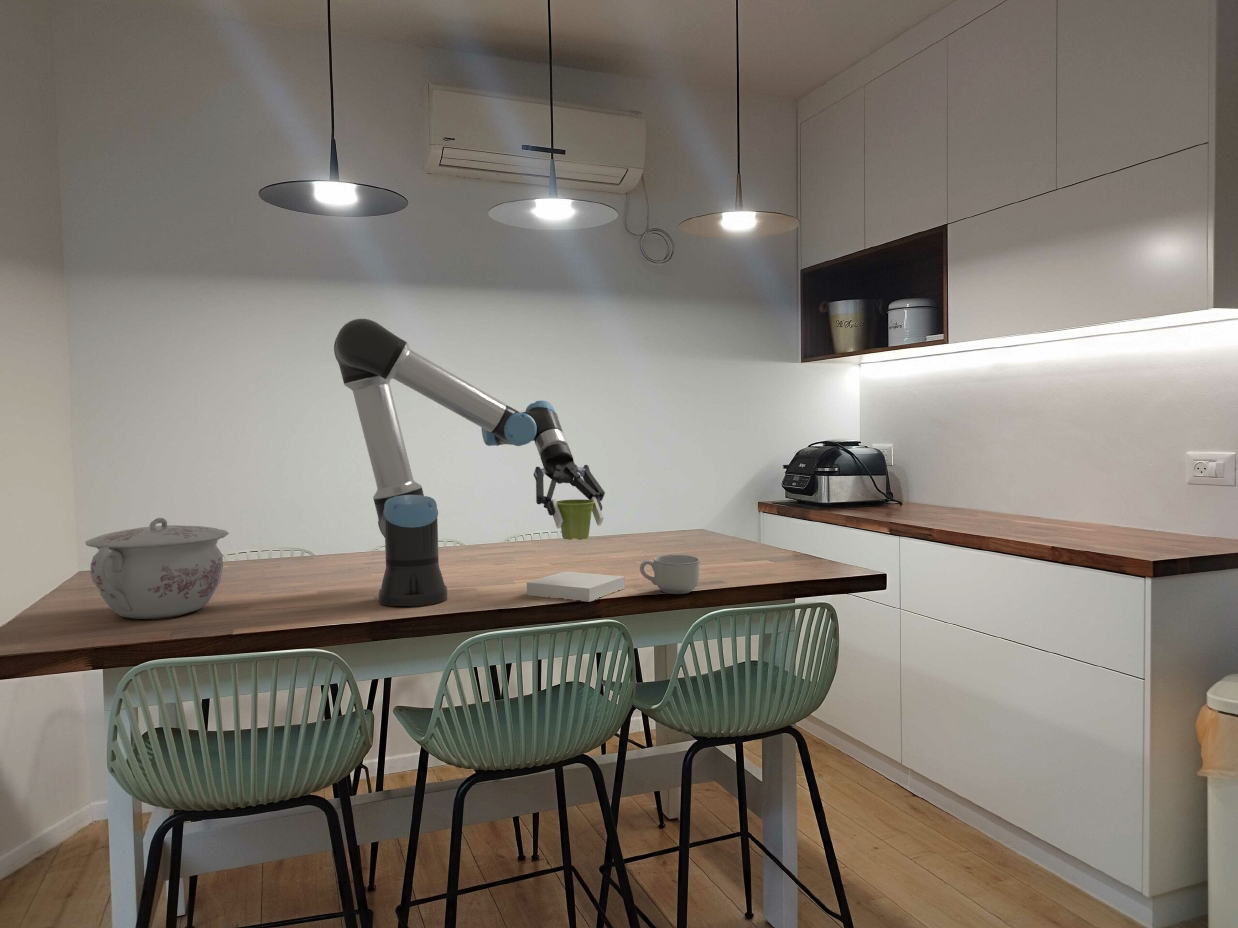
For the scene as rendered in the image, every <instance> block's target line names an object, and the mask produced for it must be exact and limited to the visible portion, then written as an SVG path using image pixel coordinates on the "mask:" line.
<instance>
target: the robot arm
mask: <svg viewBox="0 0 1238 928" xmlns="http://www.w3.org/2000/svg"><path fill="white" fill-rule="evenodd" d="M333 352H334V357H335V360H336V361H337V363H338V366H339V370H340V374H341V378H342V382H343V386H345V387H347V389H348V388H349V389H350V390H351V391H352V393H353V394H352V395H353V397H354V401H355V405H356V410H357V413H358V417H359V420H360V421H359V422H360V425H361V426H360V427H361V429H362V434H363V437H364V440H365V445H366V448H367V453H368V456H369V461H370V464H371V468H372V471H373V476H374V479H375V484H376V488H377V490H376V492H375V493H374V495H373V496H372V499H373V502H374V503H373V504H374V506H375V510H376V515H377V520H378V521H377V525H378V528H379V531H380V533H381V534H382V536H383V537H384V542H385V543H384V546H385V549H384V551H385V570H384V574H383V576H382V577H383V578H382V582H381V587H380V589H379V591H378V603H379V604H380V605H382V606H386V605H387V607H394V606H412V607H421V606H422V607H423V606H430V605H435V604H438V603H442V602H444V601H446V600H447V599H448V588H447V585H446V584H445V580H444V577H443V574H442V572H441V567H440V565H439V532H438V531H439V530H438V529H439V528H438V525H439V524H438V516H439V510H438V504H437V501H436V500H435V499H434V498H433V497H431V496H427V495H424V490H423V486H422V485H421V484H420V483H418V482H416V481H415V480H414V476H413V472H412V469H411V465H410V461H409V458H408V457H409V456H408V453H407V449H406V445H405V441H404V436H403V434H402V433H403V432H402V430H401V425H400V420H399V417H398V414H397V409H396V405H395V401H394V397H393V392H392V389H391V384H390V383H391V380H392V379H393V380H395V381H396V382H399V383H400V384H402V385H403V386H406V387H407V388H410V389H411V390H413V391H415V392H417V393H418V394H420V395H422V396H424V397H426V398H428V399H429V400H431V401H433V402H435V403H437V404H438V405H441V406H442V407H444V408H445V409H448V410H449V411H451V412H453V413H455V414H457V415H459V416H461V418H464V419H466V420H467V421H469V422H471V423H473V424H475V425H476V426H478V427H480V428H481V436H482V439H483V442H484V444H485V445H486V446H488V447H491V446H493V447H495V446H496V447H498V446H503V445H511V446H516V447H521V446H525V445H528V444H530V443H531V442H532V441H534V444H535V446H536V449H537V452H538V455H539V457H540V460H541V463H542V466H543V468H541V467H540V466H535V469H534V472H533V477H534V479H535V495H536V496H535V500H536V502H535V503H536V504H537V505H543V508H545V509H546V511H547V513H548V515H549V516H550V517H551V516H552V518H553V520H554V524H555V526H556V529H561V525H562V522H563V519H562V516H561V514H560V511H559V508H558V505H557V502H556V501H557V499H556V498H553V495H554V493H555V492H554V491H555V489H556V485H557V484H559V485H560V484H570V485H571V486H572V487H575V488H576V489H577V490H578V491H579V492H580V493H581V494H582V495H583V496H585V497H586V499H587V500H593V501H595V503H594V504H593V509H592V512H591V513H592V515H593V517H594V520H595V523H596V525H597V527H598V526H599V527H600V526H601V525H602V523H603V520H604V515H603V513H602V510H603V505H602V501H603V499H604V497H605V494H606V492H605V490H604V489H603V488H602V486H601V485H600V483H599V482H598V481H597V479H596V478H595V477H594V475H593V474H592V472H591V471H590V467H589V465H588V464H584V465H583V466H578V465H577V464H576V462H575V461H574V456H573V454H572V451H571V449H570V445H569V444H568V443H569V442H568V441H567V438H566V436H565V434H564V432H563V431H564V430H563V428H562V426H561V423H560V420H559V416H558V414H557V412H556V410H555V408H554V406H553V404H551V403H550V402H548V401H546V400H536V401H535V402H534V403H530V404H529V405H527V407H526V409H525V411H522V412H521V411H518V410H516V409H515V408H513V407H511V406H509V405H507V404H506V402H505V403H504V402H503V401H501V400H500V399H497V398H496V397H494V396H492V395H491V394H489V393H486V391H484V390H482V389H480V388H479V387H477V386H475V385H473V384H471V383H469V382H468V381H467V380H465V379H463V378H461V377H459V376H457V375H456V374H454V373H452V372H450V371H449V370H447V369H445V368H443V367H442V366H440V365H438V364H436V363H435V362H433V361H431V360H430V359H427V358H426V357H424V356H423V355H420V354H419V353H417V352H415V351H414V350H412V349H411V348H410V345H409V342H407V341H405V340H404V339H402V338H401V337H398V336H397V335H395V334H394V333H393V332H391V331H390V330H388V329H387V328H385V327H384V326H383V325H381V324H380V323H378V322H377V321H374V320H371V319H370V318H369V319H368V318H356V319H352V320H350V321H348V322H346V323H345V324H344V325H342V327H341V328H340V330H339V331H338V333H337V336H336V337H335V340H334V345H333ZM544 476H547V478H549V479H551V481H550V484H549V487H548V490H547V492H546V493H547V494H546V495H544V494H545V493H544Z"/></svg>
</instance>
